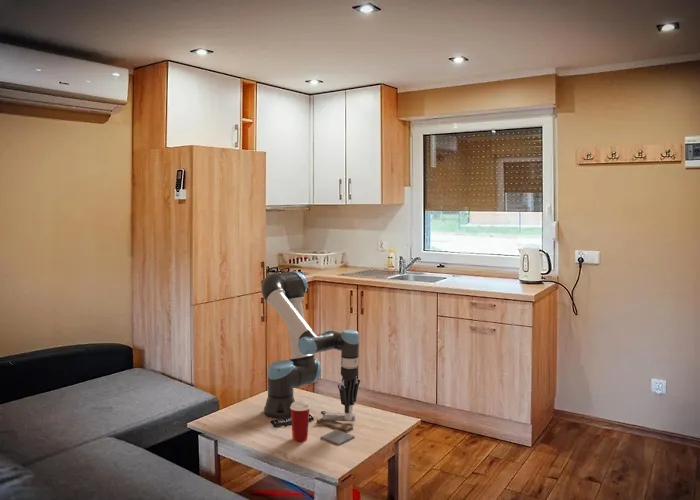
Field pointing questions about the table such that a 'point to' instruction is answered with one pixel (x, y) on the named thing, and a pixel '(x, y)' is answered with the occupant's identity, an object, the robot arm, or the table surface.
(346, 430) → the base
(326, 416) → the bar
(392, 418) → the table surface
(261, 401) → the table surface
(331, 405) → the table surface
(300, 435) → the coffee cup
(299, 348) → the robot arm
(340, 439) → the slate pad
